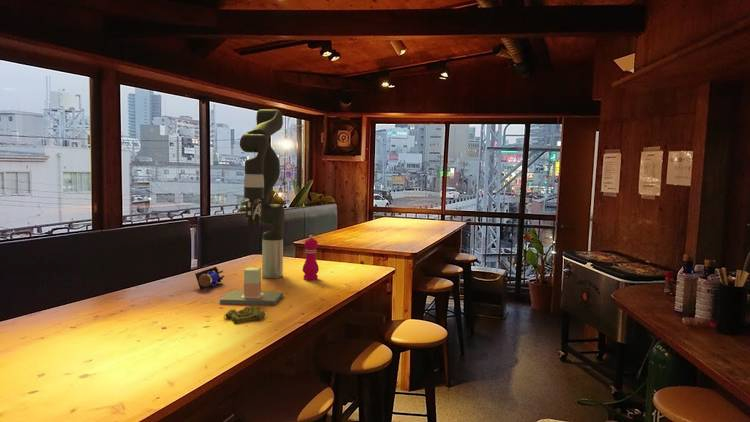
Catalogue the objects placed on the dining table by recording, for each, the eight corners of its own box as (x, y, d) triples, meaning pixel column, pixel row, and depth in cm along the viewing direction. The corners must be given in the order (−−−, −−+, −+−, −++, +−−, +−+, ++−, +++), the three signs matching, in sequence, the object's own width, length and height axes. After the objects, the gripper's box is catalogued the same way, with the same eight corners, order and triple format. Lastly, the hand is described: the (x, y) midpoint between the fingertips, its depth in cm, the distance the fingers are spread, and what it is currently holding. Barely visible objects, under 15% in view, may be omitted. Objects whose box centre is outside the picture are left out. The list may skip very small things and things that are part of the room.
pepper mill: (300, 277, 224) (301, 234, 222) (315, 276, 227) (316, 233, 225) (305, 281, 217) (305, 236, 216) (320, 280, 220) (321, 235, 219)
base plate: (231, 294, 192) (231, 290, 192) (282, 295, 191) (283, 291, 191) (219, 303, 178) (219, 299, 178) (274, 305, 178) (274, 300, 177)
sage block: (247, 280, 187) (247, 267, 186) (260, 280, 187) (261, 267, 186) (244, 283, 182) (244, 270, 181) (257, 283, 182) (257, 270, 181)
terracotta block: (247, 293, 187) (247, 280, 187) (260, 293, 187) (260, 280, 187) (243, 296, 182) (244, 283, 182) (257, 297, 182) (257, 283, 182)
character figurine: (227, 284, 210) (206, 292, 196) (211, 281, 212) (190, 289, 198) (228, 266, 210) (208, 273, 195) (212, 263, 211) (191, 270, 197)
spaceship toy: (274, 310, 172) (274, 300, 172) (256, 326, 155) (256, 315, 154) (240, 308, 174) (240, 298, 174) (218, 324, 156) (218, 313, 156)
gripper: (258, 186, 183) (258, 230, 184) (268, 185, 197) (267, 226, 199) (238, 186, 183) (238, 229, 185) (249, 185, 198) (249, 225, 199)
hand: (253, 227), depth 192 cm, fingers open, 8 cm apart
